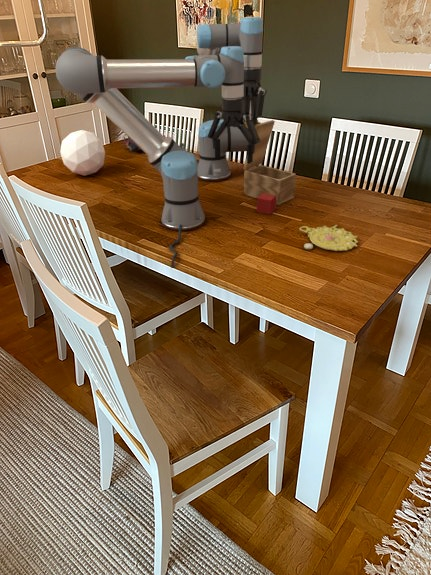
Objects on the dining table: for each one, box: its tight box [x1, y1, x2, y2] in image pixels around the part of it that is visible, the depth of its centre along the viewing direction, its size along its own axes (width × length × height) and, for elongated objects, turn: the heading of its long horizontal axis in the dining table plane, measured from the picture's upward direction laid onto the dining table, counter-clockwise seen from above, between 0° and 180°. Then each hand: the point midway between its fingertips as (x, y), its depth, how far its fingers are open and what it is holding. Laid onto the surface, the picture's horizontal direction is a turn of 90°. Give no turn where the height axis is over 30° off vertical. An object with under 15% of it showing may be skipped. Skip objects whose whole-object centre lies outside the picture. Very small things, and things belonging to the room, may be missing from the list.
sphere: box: [59, 129, 106, 177], centre depth 200 cm, size 19×20×20 cm
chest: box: [243, 164, 297, 206], centre depth 172 cm, size 17×10×10 cm, turn 45°
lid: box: [242, 119, 276, 171], centre depth 170 cm, size 18×10×8 cm
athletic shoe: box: [121, 137, 143, 153], centre depth 234 cm, size 11×22×12 cm
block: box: [256, 193, 277, 215], centre depth 161 cm, size 5×5×5 cm
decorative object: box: [299, 224, 359, 252], centre depth 141 cm, size 21×2×20 cm
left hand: (233, 160), depth 162 cm, fingers open, 13 cm apart
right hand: (250, 135), depth 170 cm, fingers closed on lid, 2 cm apart
